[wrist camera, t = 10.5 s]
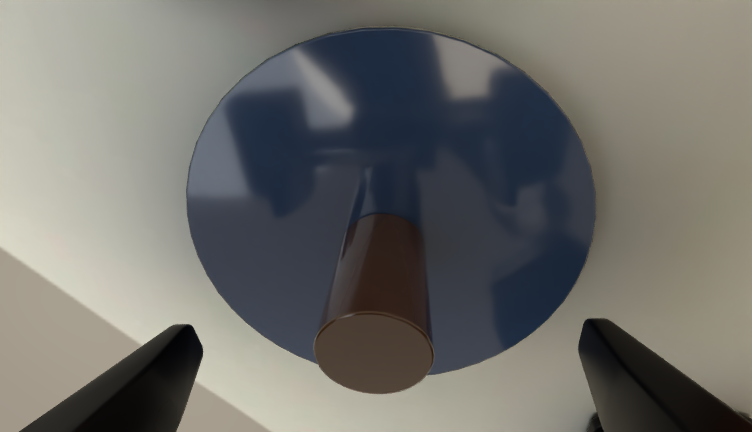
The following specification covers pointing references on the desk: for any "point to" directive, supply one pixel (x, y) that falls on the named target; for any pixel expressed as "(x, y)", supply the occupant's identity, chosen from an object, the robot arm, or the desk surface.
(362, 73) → the lid
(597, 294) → the desk surface
